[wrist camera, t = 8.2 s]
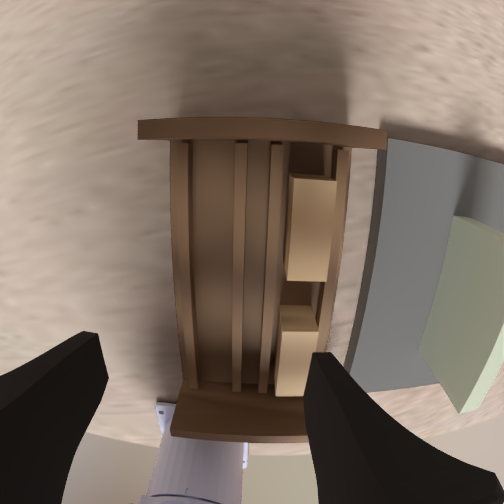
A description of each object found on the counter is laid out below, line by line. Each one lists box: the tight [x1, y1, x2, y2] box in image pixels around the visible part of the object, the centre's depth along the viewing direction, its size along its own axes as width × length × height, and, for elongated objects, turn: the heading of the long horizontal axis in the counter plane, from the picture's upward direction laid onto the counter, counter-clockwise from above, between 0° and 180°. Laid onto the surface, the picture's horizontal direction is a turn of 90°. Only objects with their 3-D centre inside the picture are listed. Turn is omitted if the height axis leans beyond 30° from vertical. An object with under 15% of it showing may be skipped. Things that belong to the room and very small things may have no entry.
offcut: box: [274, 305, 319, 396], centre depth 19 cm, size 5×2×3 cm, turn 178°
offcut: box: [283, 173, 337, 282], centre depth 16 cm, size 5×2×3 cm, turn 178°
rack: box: [138, 117, 387, 443], centre depth 17 cm, size 18×10×6 cm, turn 178°
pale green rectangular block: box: [418, 215, 504, 414], centre depth 15 cm, size 10×2×7 cm, turn 177°
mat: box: [344, 138, 504, 393], centre depth 19 cm, size 18×12×2 cm, turn 178°
